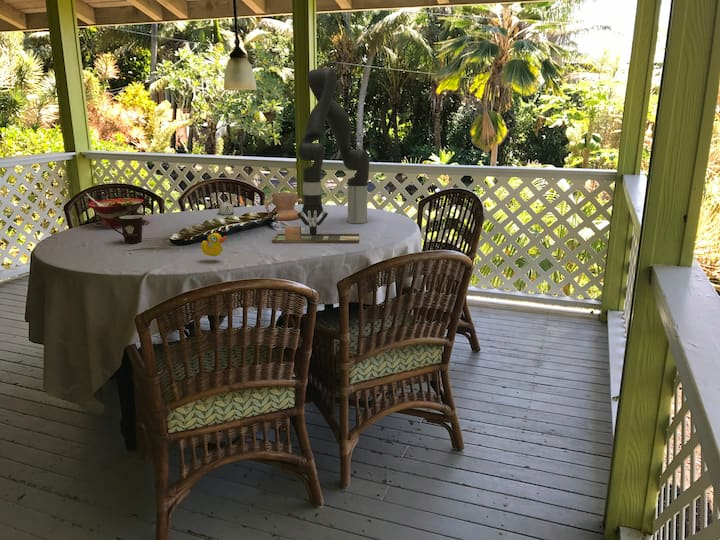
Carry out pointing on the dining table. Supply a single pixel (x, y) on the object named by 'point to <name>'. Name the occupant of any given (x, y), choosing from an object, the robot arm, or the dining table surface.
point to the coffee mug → (130, 228)
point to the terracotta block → (292, 233)
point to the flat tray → (306, 239)
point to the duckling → (213, 245)
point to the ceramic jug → (284, 205)
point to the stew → (116, 209)
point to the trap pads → (323, 236)
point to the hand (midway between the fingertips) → (313, 235)
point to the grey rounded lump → (226, 208)
